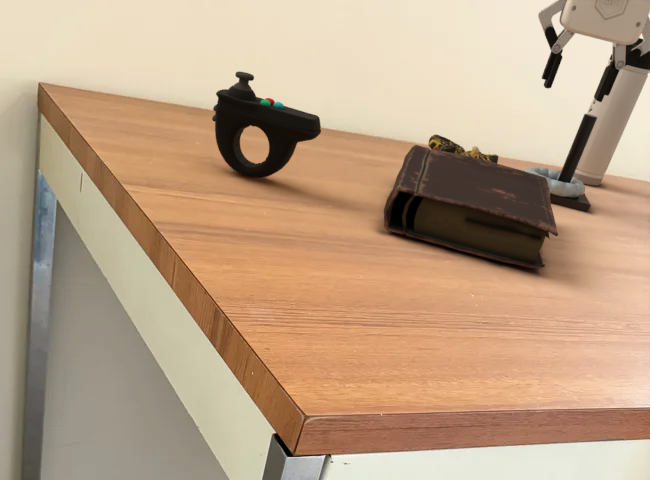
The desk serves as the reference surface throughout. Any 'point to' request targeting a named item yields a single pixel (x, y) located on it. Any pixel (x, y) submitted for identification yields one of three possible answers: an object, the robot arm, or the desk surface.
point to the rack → (575, 165)
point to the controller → (271, 117)
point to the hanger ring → (559, 183)
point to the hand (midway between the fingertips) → (572, 92)
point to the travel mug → (612, 118)
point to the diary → (471, 206)
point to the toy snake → (458, 148)
